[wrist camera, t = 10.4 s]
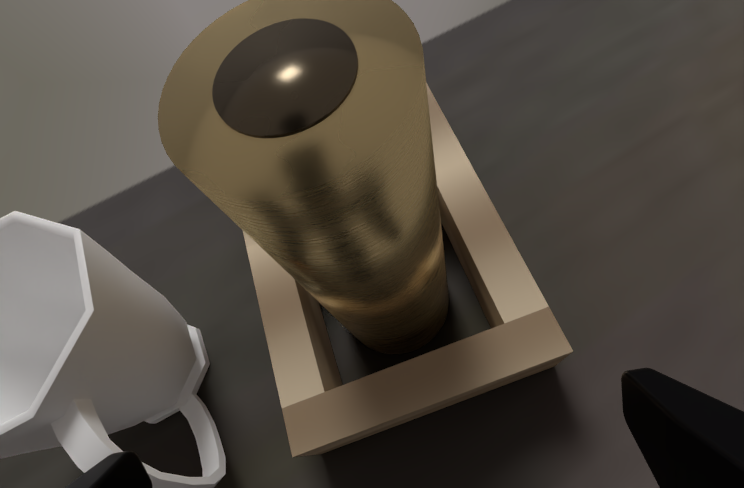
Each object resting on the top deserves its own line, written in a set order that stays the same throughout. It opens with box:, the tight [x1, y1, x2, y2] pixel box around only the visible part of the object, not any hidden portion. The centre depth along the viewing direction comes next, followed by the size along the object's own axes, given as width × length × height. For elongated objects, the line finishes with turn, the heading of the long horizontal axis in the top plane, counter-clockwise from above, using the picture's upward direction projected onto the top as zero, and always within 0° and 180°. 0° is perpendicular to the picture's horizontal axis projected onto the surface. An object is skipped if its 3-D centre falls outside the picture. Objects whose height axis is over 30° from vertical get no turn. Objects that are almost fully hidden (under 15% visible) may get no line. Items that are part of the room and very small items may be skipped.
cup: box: [0, 211, 226, 488], centre depth 15 cm, size 7×10×8 cm
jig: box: [243, 83, 573, 457], centre depth 17 cm, size 12×9×4 cm
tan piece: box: [158, 0, 449, 354], centre depth 12 cm, size 4×4×12 cm
